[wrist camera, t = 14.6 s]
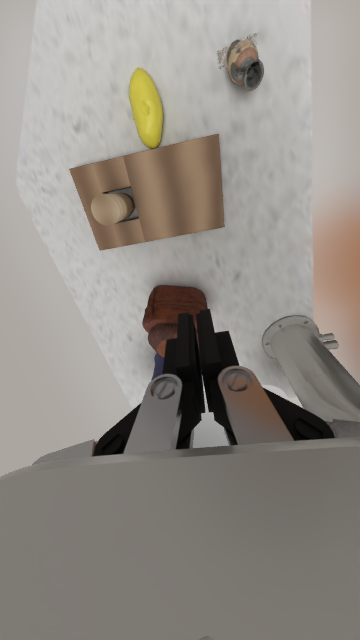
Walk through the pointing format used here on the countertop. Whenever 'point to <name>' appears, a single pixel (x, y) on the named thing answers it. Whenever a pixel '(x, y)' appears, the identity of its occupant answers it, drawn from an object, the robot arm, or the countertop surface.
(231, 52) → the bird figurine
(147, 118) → the lemon
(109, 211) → the dowel
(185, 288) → the wooden figurine
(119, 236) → the board
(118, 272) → the countertop surface
